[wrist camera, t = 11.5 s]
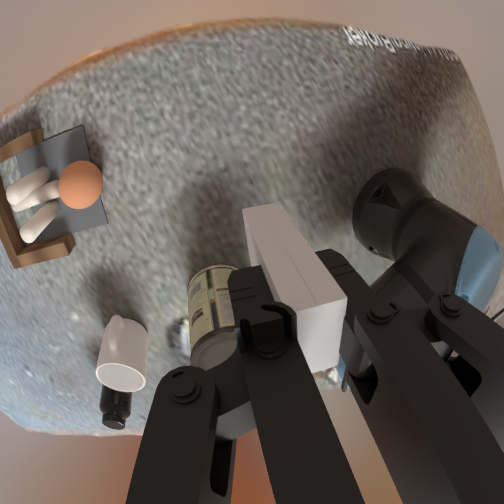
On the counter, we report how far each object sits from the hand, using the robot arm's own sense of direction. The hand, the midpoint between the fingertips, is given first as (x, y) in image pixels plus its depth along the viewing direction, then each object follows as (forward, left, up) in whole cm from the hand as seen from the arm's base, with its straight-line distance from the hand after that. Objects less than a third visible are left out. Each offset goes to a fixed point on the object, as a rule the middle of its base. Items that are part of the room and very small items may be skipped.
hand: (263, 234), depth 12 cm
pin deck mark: (+23, 0, -24) cm, 33 cm away
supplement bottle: (+30, +42, -25) cm, 57 cm away
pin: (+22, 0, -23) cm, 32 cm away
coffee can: (+3, +22, -25) cm, 33 cm away
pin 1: (+24, -3, -24) cm, 34 cm away
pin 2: (+24, +2, -24) cm, 34 cm away
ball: (+18, 0, -21) cm, 28 cm away
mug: (+21, +26, -25) cm, 41 cm away
